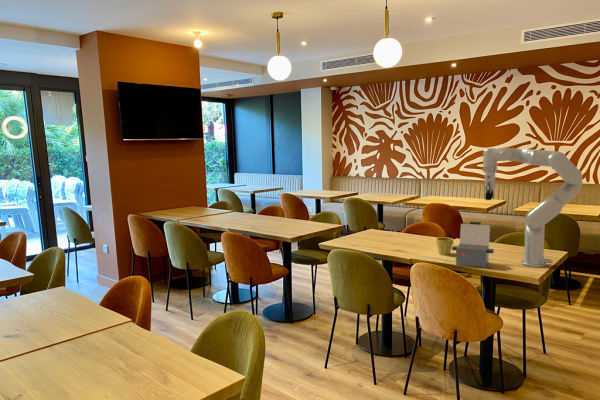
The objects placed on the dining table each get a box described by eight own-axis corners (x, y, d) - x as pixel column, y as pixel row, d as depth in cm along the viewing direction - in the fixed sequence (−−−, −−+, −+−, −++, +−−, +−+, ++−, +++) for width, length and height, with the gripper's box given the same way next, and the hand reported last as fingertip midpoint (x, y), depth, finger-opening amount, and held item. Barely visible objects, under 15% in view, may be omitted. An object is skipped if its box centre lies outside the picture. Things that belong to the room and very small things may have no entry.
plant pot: (454, 256, 270) (454, 240, 269) (436, 255, 272) (437, 240, 271) (451, 252, 280) (452, 237, 279) (435, 251, 282) (435, 237, 281)
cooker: (494, 263, 251) (494, 246, 250) (491, 268, 240) (492, 251, 239) (454, 259, 262) (454, 243, 260) (450, 264, 251) (450, 247, 250)
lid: (488, 246, 251) (489, 246, 254) (489, 222, 252) (490, 223, 255) (459, 243, 259) (460, 243, 262) (461, 221, 260) (461, 221, 263)
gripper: (495, 170, 242) (494, 200, 244) (498, 168, 257) (497, 197, 259) (481, 170, 246) (480, 200, 248) (484, 168, 261) (484, 197, 263)
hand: (489, 198), depth 254 cm, fingers open, 9 cm apart
